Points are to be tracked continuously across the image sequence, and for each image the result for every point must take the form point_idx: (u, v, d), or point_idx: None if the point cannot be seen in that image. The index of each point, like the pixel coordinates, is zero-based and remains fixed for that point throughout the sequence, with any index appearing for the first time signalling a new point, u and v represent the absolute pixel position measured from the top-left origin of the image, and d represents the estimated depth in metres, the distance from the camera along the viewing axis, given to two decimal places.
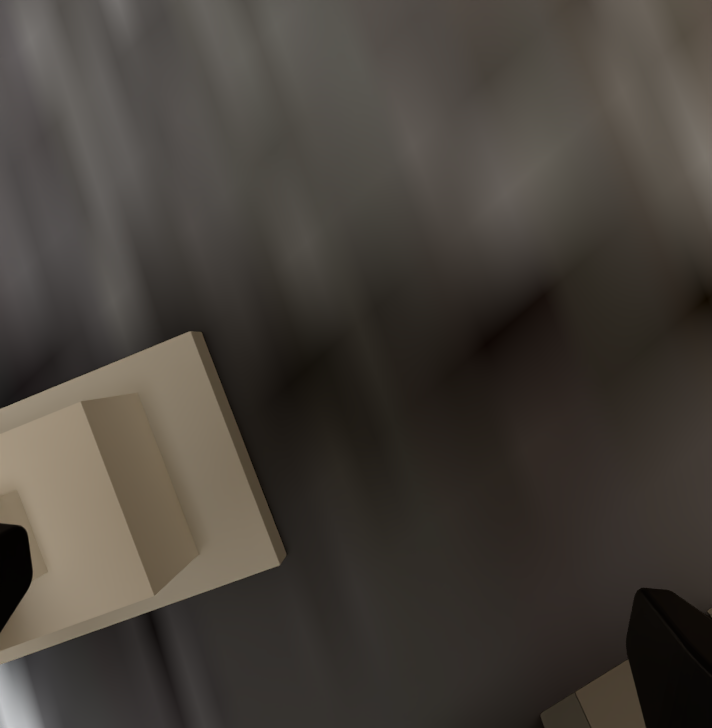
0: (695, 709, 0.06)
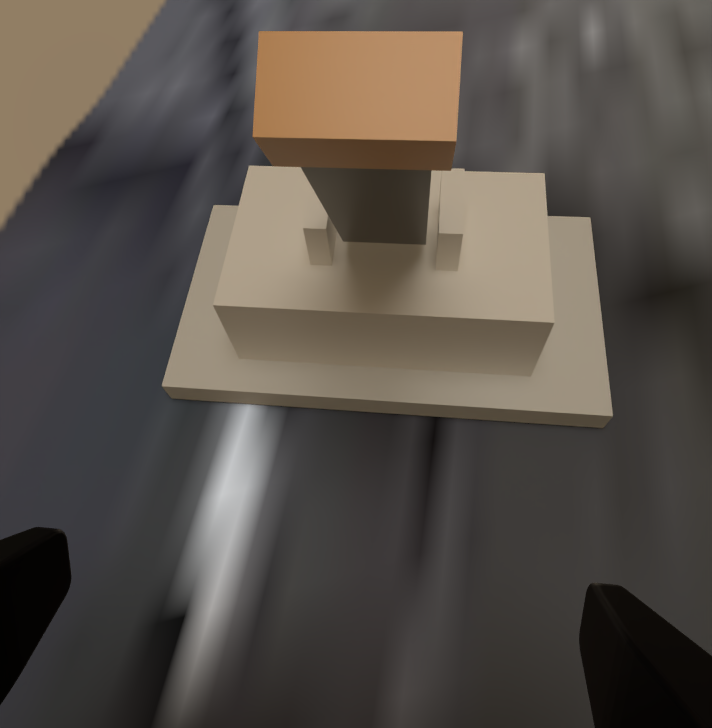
0: (633, 701, 0.06)
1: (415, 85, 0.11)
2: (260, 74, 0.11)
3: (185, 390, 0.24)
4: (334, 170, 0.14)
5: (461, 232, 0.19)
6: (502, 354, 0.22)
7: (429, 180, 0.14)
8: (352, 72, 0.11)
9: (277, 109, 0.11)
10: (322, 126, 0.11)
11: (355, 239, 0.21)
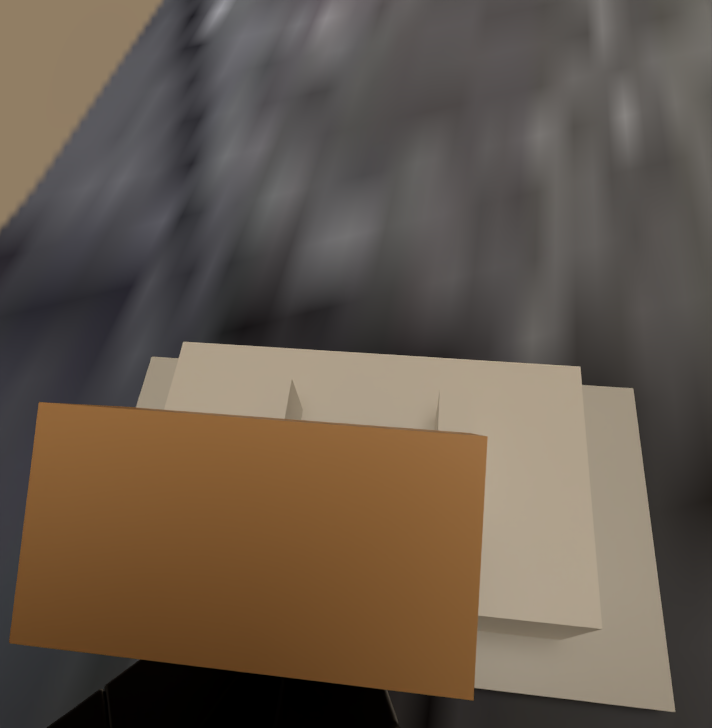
0: None
1: (378, 554, 0.05)
2: (34, 500, 0.05)
3: None
4: None
5: None
6: (523, 630, 0.16)
7: None
8: (235, 511, 0.05)
9: (65, 582, 0.05)
10: (166, 628, 0.05)
11: None
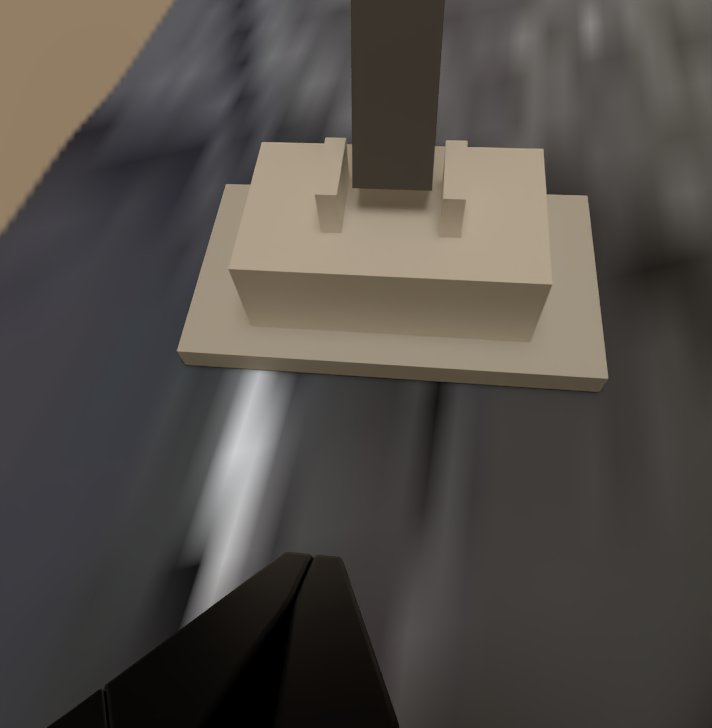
0: None
1: None
2: None
3: (199, 355, 0.25)
4: None
5: (464, 198, 0.21)
6: (503, 318, 0.23)
7: None
8: None
9: None
10: None
11: (365, 175, 0.22)
